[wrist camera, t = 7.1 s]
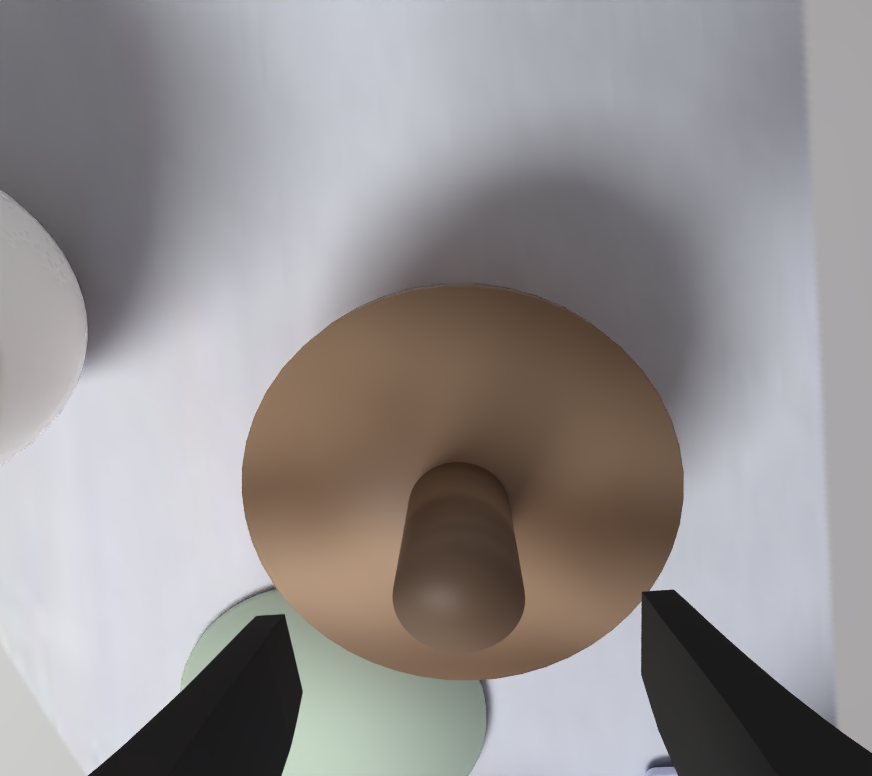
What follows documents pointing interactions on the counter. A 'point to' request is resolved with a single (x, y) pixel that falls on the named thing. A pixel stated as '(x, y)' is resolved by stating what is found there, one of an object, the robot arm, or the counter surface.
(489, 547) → the lid
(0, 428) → the lidded jar
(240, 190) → the counter surface
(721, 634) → the robot arm
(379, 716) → the mat
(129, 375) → the counter surface
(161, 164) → the counter surface
